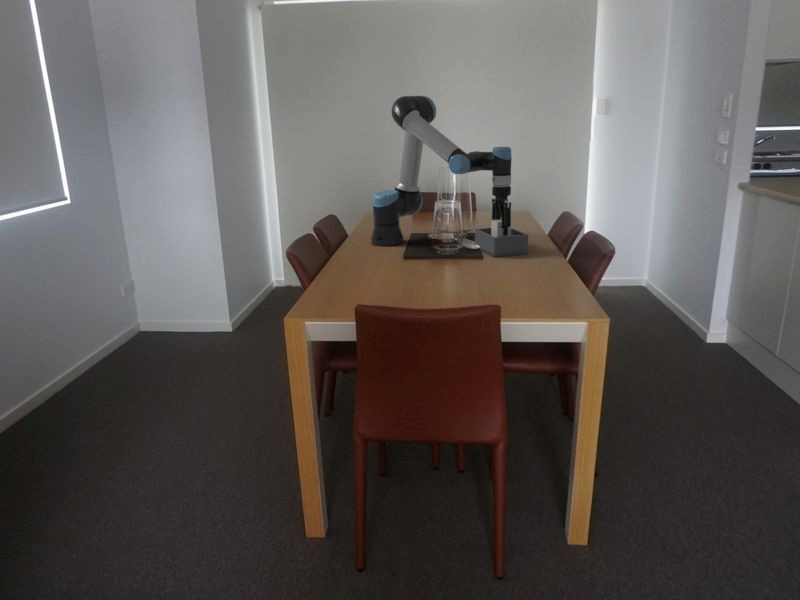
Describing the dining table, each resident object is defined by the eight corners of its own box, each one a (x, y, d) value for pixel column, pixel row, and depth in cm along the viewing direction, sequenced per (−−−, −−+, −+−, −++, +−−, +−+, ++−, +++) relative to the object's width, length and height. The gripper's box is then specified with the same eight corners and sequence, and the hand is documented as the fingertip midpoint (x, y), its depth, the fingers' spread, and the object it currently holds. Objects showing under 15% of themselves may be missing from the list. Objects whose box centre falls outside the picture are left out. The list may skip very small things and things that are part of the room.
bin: (474, 247, 260) (474, 229, 258) (506, 244, 264) (506, 226, 262) (494, 257, 242) (494, 237, 240) (527, 253, 246) (528, 234, 243)
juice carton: (491, 241, 254) (491, 217, 251) (504, 239, 255) (504, 216, 252) (497, 243, 248) (497, 220, 245) (510, 242, 250) (510, 218, 247)
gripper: (483, 183, 253) (483, 237, 260) (503, 189, 235) (502, 246, 242) (500, 182, 254) (499, 236, 261) (520, 187, 237) (519, 244, 244)
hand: (500, 241), depth 252 cm, fingers closed on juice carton, 6 cm apart
